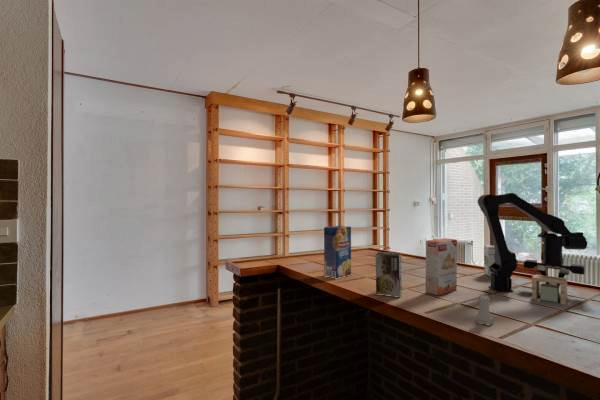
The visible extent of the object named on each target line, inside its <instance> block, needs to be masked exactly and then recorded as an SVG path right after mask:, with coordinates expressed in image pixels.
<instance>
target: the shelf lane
mask: <svg viewBox="0 0 600 400" xmlns="http://www.w3.org/2000/svg"><path fill="white" fill-rule="evenodd" d="M541 282H542V283H543V282H544V283H546V282H550V283H557V284H560V305H566V304H567V301H568V280H567V278H566V277H564V278H560V277H558V276H552V277H551V275H548V276H543V275H541V274H534V275H532V277H531V285H532V286H531V297H532V298H531V299H532V300H536V301H537V300H538V298H539V296H540V285H541V284H540V283H541Z"/></svg>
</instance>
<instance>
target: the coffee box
mask: <svg viewBox="0 0 600 400" xmlns="http://www.w3.org/2000/svg"><path fill="white" fill-rule="evenodd" d="M375 284H376V285H375V290H376V291H375V295H376V294H384V295H391V296H398V297H400V298H401V297H402V295H401V294H403V293H402V289H403V288H402V285H403V283H402V253H401V252H389V251H387V252H386V251H384V252H383V251H378V252H377V253H376V254H375Z"/></svg>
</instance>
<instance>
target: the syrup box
mask: <svg viewBox="0 0 600 400" xmlns="http://www.w3.org/2000/svg"><path fill="white" fill-rule="evenodd" d="M483 250H484V251H483V258H484V260H483V261H484V262H483V263H484V267H483V268H484V269H483V270H484V275H485V276H487V277H490V278H491V273H492V272H490V270H489V267H490V266H491V265H492V264H493V263H494V262H495V258H494V255H495V247H494V244H485V245H483Z"/></svg>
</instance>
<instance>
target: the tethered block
mask: <svg viewBox="0 0 600 400" xmlns="http://www.w3.org/2000/svg"><path fill="white" fill-rule="evenodd" d="M550 276H551V275H550ZM551 277H553V276H551ZM539 296H540V297H539V299H540V300H541V301H546V302H547V301H549V302H554V303H558V302H559V300H560V287H559V286H558V285H557V283H550V282H549V284H546V283H545V282H544V283H543V282H542V283H541V284H540V295H539Z"/></svg>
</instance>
